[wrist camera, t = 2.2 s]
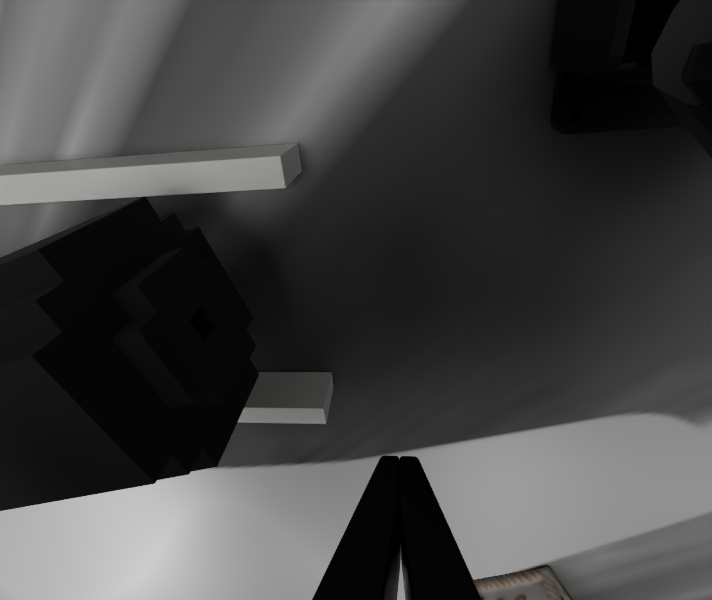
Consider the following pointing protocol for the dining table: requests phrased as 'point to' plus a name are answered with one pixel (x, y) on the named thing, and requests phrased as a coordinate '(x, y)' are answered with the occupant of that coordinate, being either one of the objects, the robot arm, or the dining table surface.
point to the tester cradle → (173, 177)
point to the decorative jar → (522, 586)
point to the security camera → (117, 358)
